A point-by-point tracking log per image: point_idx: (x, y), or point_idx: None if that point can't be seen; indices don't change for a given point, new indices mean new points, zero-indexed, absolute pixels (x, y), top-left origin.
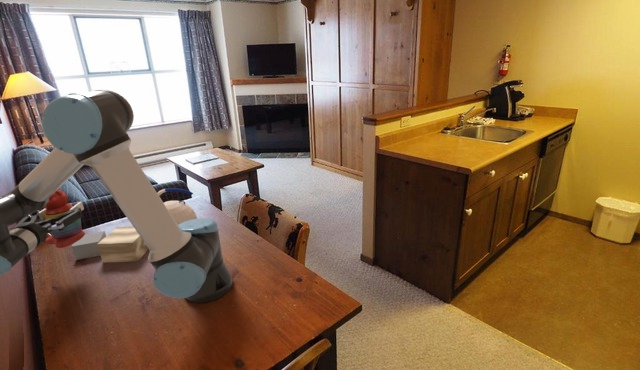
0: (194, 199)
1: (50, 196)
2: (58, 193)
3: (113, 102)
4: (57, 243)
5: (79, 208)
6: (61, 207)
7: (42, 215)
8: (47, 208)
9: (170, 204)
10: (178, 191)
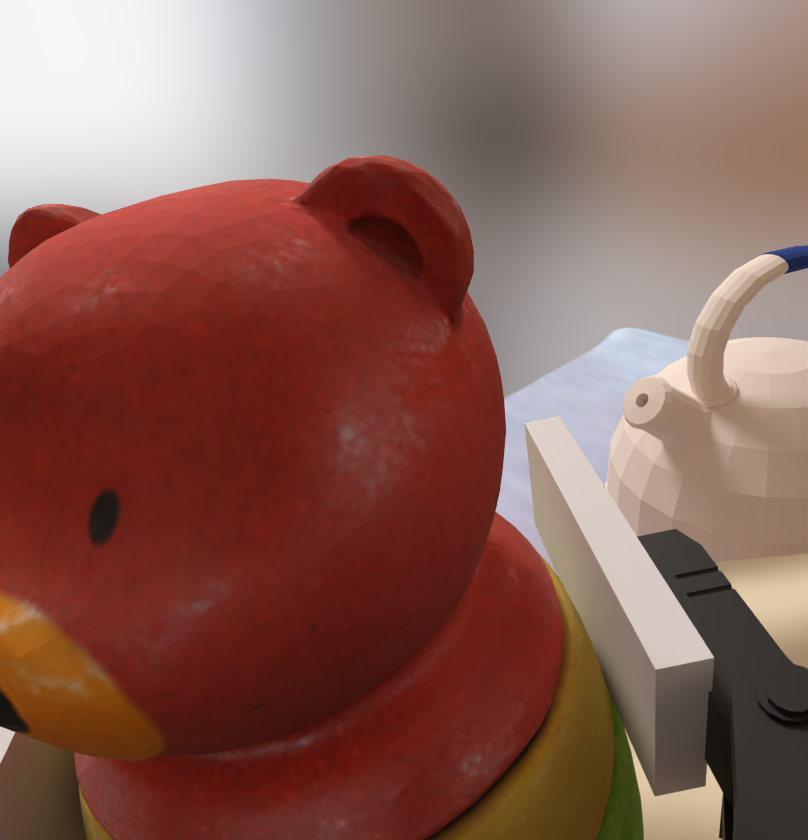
0: (627, 336)
1: (230, 363)
2: (424, 242)
3: None
4: None
5: (719, 571)
6: (455, 627)
7: (35, 823)
8: (168, 753)
9: (803, 363)
10: None
